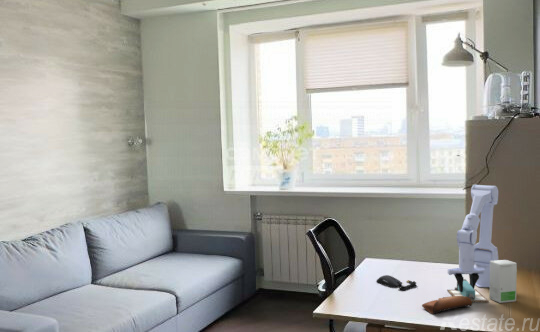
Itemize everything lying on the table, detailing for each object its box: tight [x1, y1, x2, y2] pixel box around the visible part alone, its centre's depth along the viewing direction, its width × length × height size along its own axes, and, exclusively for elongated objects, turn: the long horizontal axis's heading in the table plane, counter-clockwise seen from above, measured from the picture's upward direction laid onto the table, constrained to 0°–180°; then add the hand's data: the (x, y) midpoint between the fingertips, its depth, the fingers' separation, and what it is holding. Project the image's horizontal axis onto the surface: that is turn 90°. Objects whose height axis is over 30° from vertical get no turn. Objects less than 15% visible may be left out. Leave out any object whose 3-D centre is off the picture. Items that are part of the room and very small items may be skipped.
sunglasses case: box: [421, 295, 473, 315], centre depth 200 cm, size 18×7×7 cm
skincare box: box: [488, 259, 518, 304], centre depth 208 cm, size 8×7×16 cm
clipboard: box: [447, 286, 490, 303], centre depth 213 cm, size 14×12×2 cm
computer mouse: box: [376, 274, 418, 292], centre depth 232 cm, size 12×18×4 cm
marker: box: [456, 278, 475, 300], centre depth 211 cm, size 15×4×4 cm, turn 178°
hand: (466, 291), depth 212 cm, fingers closed on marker, 4 cm apart
